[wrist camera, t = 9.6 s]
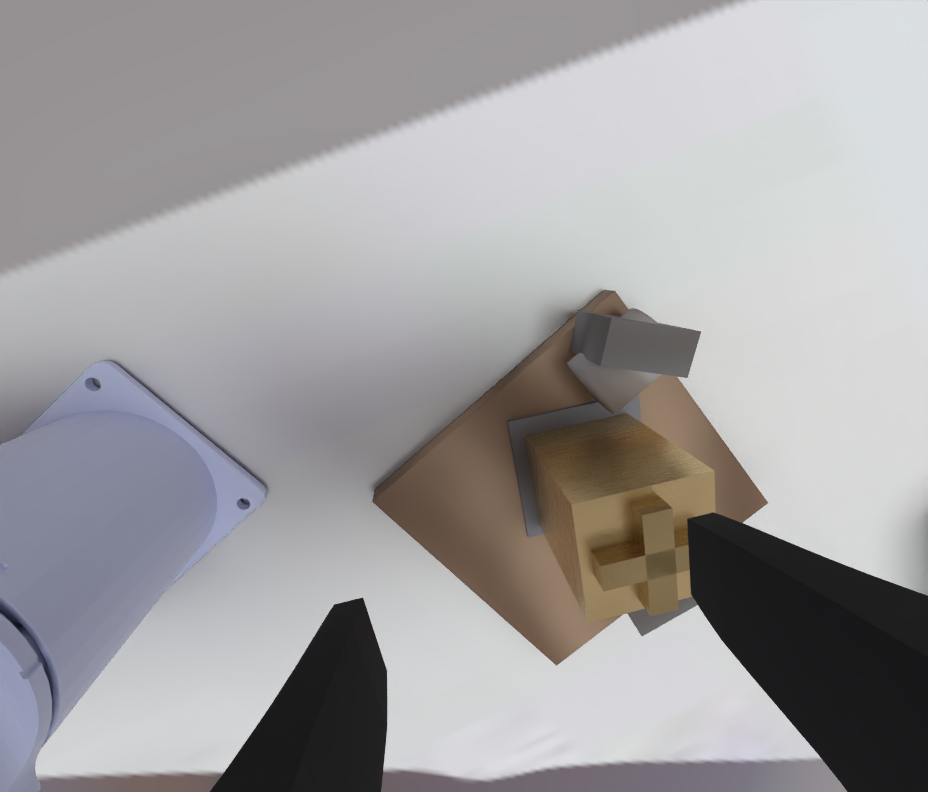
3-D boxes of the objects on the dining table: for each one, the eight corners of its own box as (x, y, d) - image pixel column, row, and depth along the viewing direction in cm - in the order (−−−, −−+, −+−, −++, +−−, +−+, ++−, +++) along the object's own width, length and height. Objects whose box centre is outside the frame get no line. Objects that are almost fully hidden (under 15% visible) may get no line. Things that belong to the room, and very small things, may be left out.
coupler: (634, 503, 19) (732, 606, 13) (539, 526, 19) (596, 641, 13) (626, 412, 18) (730, 481, 12) (524, 436, 18) (580, 517, 12)
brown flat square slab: (550, 649, 23) (578, 725, 19) (368, 484, 19) (356, 538, 15) (760, 486, 21) (836, 532, 17) (608, 274, 17) (662, 274, 14)
